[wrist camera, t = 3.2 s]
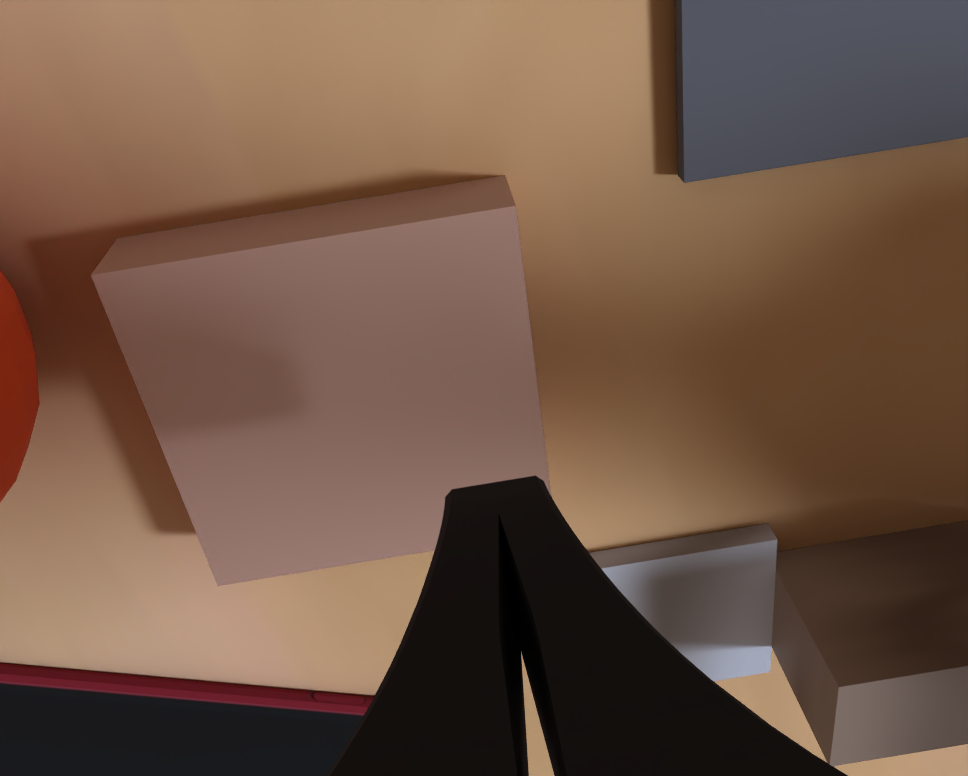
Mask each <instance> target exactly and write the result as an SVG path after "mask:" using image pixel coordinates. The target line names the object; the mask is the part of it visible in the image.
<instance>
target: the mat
mask: <svg viewBox="0 0 968 776" xmlns="http://www.w3.org/2000/svg"><path fill="white" fill-rule="evenodd" d="M675 34H676V89H677V144H678V176H679V177H680V178H681V180H682V181H683V182H684V183H686V182H692V181H698V180H704V179H711V178H717V177H723V176H729V175H735V174H742V173H748V172H754V171H760V170H766V169H772V168H779V167H785V166H791V165H797V164H803V163H810V162H816V161H822V160H828V159H834V158H841V157H847V156H853V155H859V154H865V153H872V152H878V151H884V150H890V149H896V148H902V147H909V146H915V145H921V144H927V143H933V142H940V141H946V140H952V139H958V138H964V137H968V0H675Z"/></svg>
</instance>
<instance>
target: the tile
mask: <svg viewBox="0 0 968 776" xmlns="http://www.w3.org/2000/svg"><path fill="white" fill-rule="evenodd" d="M91 278H92V280H93V282H94V285H95V287H96V290H97V292H98V295H99V297H100V299H101V302H102V304H103V307H104V309H105V312H106V314H107V317H108V319H109V321H110V324H111V326H112V329H113V331H114V334H115V336H116V339H117V341H118V343H119V346H120V348H121V351H122V353H123V356H124V358H125V360H126V363H127V365H128V368H129V370H130V373H131V375H132V378H133V380H134V382H135V385H136V387H137V390H138V392H139V395H140V397H141V400H142V402H143V404H144V407H145V409H146V412H147V414H148V417H149V419H150V421H151V424H152V426H153V429H154V431H155V434H156V436H157V439H158V441H159V443H160V446H161V448H162V451H163V453H164V456H165V458H166V461H167V463H168V465H169V468H170V470H171V473H172V475H173V478H174V480H175V483H176V485H177V487H178V490H179V492H180V495H181V497H182V500H183V502H184V504H185V507H186V509H187V512H188V514H189V517H190V519H191V522H192V524H193V526H194V529H195V531H196V534H197V536H198V539H199V541H200V544H201V546H202V548H203V551H204V553H205V556H206V558H207V561H208V563H209V565H210V568H211V570H212V573H213V575H214V578H215V580H216V583H217V585H218V586H221V585H227V584H233V583H239V582H245V581H251V580H257V579H263V578H269V577H275V576H281V575H288V574H294V573H300V572H306V571H312V570H318V569H324V568H330V567H336V566H342V565H348V564H354V563H360V562H366V561H372V560H378V559H384V558H390V557H396V556H402V555H408V554H414V553H420V552H426V551H433V550H435V548H436V544H437V540H438V537H439V533H440V528H441V524H442V519H443V513H444V506H445V496H446V495H447V494H448V493H449V492H450V491H451V490H452V489H456V488H462V487H468V486H475V485H481V484H487V483H493V482H499V481H505V480H511V479H517V478H523V477H529V476H537V477H539V478H540V479H542V480H543V481H544V482H545V485H546V487H547V489H548V491H549V493H550V495H551V490H550V482H549V474H548V465H547V457H546V449H545V441H544V433H543V424H542V416H541V408H540V400H539V392H538V384H537V375H536V367H535V359H534V351H533V343H532V334H531V326H530V318H529V310H528V302H527V294H526V285H525V277H524V269H523V261H522V253H521V244H520V236H519V228H518V220H517V212H516V205H515V202H514V199H513V197H512V194H511V191H510V188H509V185H508V183H507V180H506V177H505V175H504V176H498V177H492V178H485V179H479V180H473V181H467V182H461V183H455V184H449V185H442V186H436V187H430V188H424V189H418V190H412V191H406V192H399V193H393V194H387V195H381V196H375V197H369V198H363V199H356V200H350V201H344V202H338V203H332V204H326V205H319V206H313V207H307V208H301V209H295V210H289V211H283V212H276V213H270V214H264V215H258V216H252V217H246V218H240V219H233V220H227V221H221V222H215V223H209V224H203V225H197V226H190V227H184V228H178V229H172V230H166V231H160V232H154V233H147V234H141V235H135V236H129V237H123V238H117V239H116V241H115V242H114V243H113V245H112V246H111V248H110V249H109V250H108V252H107V253H106V255H105V256H104V257H103V259H102V260H101V262H100V263H99V264H98V266H97V267H96V268H95V270H94V271H93V273H92V274H91Z"/></svg>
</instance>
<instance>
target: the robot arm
mask: <svg viewBox="0 0 968 776" xmlns="http://www.w3.org/2000/svg"><path fill="white" fill-rule="evenodd" d="M518 635H519V636H518ZM521 652H522V656H523V660H524V663H525V667H526V671H527V675H528V678H529V682H530V686H531V690H532V693H533V697H534V701H535V704H536V708H537V712H538V716H539V719H540V723H541V727H542V730H543V734H544V738H545V742H546V745H547V749H548V753H549V756H550V760H551V764H552V768H553V771H554V775H555V776H847V775H846V774H844V773H842V772H841V771H839V770H837V769H836V768H834V767H833V766H831V765H830V764H828V763H826V762H825V761H823V760H822V759H820V758H818V757H817V756H815V755H814V754H812V753H811V752H809V751H808V750H806V749H805V748H803V747H802V746H800V745H799V744H797V743H796V742H794V741H793V740H791V739H790V738H789V737H787V736H786V735H784V734H783V733H781V732H780V731H778V730H777V729H775V728H774V727H772V726H771V725H770V724H768V723H767V722H766V721H764V720H763V719H762V718H760V717H759V716H758V715H757V714H755V713H754V712H753V711H751V710H750V709H749V708H747V707H746V706H745V705H743V704H742V703H741V702H740V701H738V700H737V699H736V698H734V697H733V696H732V695H730V694H729V693H728V692H727V691H725V690H724V689H723V688H721V687H720V686H719V685H717V684H716V683H715V682H714V681H712V680H711V679H710V678H709V677H708V676H707V675H705V674H704V673H703V672H702V671H701V670H700V669H698V668H697V667H696V666H695V665H694V664H693V663H692V662H690V661H689V660H688V659H687V658H686V657H685V656H684V655H682V654H681V653H680V652H679V651H678V650H677V649H676V648H675V647H674V646H673V645H672V644H671V643H670V642H669V641H668V640H666V639H665V638H664V637H663V636H662V635H661V634H660V633H659V632H658V631H657V630H656V629H655V628H654V627H653V626H652V625H651V624H650V623H649V622H648V621H647V620H646V619H645V618H644V617H643V616H642V615H641V613H640V612H639V611H638V610H637V609H636V608H635V607H634V606H633V605H632V604H631V603H630V601H629V600H628V599H627V598H626V597H625V596H624V595H623V594H622V593H621V592H620V590H619V589H618V588H617V587H616V586H615V585H614V583H613V582H612V581H611V580H610V579H609V578H608V576H607V575H606V574H605V573H604V571H603V570H602V569H601V568H600V566H599V565H598V564H597V563H596V561H595V560H594V559H593V557H592V556H591V555H590V554H589V552H588V551H587V550H586V549H585V547H584V546H583V545H582V543H581V542H580V540H579V539H578V538H577V536H576V535H575V534H574V532H573V531H572V529H571V528H570V526H569V525H568V523H567V522H566V520H565V519H564V517H563V516H562V514H561V512H560V511H559V509H558V508H557V506H556V504H555V502H554V501H553V499H552V497H551V495H550V493H549V491H548V489H547V487H546V485H545V482H544V481H543V480H542V479H540V478H539V477H537V476H529V477H523V478H517V479H511V480H505V481H499V482H493V483H487V484H481V485H475V486H468V487H462V488H456V489H452V490H451V491H450V492H449V493H448V494H447V495H446V496H445V506H444V513H443V519H442V524H441V528H440V533H439V537H438V540H437V544H436V548H435V551H434V555H433V558H432V561H431V565H430V568H429V571H428V574H427V577H426V580H425V583H424V586H423V589H422V592H421V594H420V597H419V600H418V603H417V605H416V608H415V610H414V612H413V615H412V617H411V620H410V622H409V624H408V627H407V629H406V632H405V634H404V636H403V639H402V641H401V644H400V646H399V648H398V650H397V652H396V655H395V657H394V659H393V661H392V663H391V665H390V667H389V669H388V671H387V673H386V675H385V677H384V679H383V681H382V683H381V685H380V687H379V689H378V691H377V693H376V694H375V696H374V698H373V700H372V702H371V704H370V706H369V707H368V709H367V711H366V712H365V714H364V716H363V718H362V719H361V721H360V723H359V724H358V726H357V728H356V729H355V731H354V733H353V734H352V736H351V738H350V740H349V741H348V743H347V745H346V746H345V748H344V749H343V751H342V752H341V754H340V756H339V757H338V759H337V760H336V762H335V763H334V765H333V766H332V768H331V769H330V771H329V772H328V774H327V775H326V776H529V773H528V757H527V741H526V724H525V708H524V692H523V677H522V661H521Z"/></svg>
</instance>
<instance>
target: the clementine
mask: <svg viewBox="0 0 968 776" xmlns="http://www.w3.org/2000/svg"><path fill="white" fill-rule="evenodd" d="M38 407H39V392H38V381H37V369H36V358H35V352H34V346H33V340H32V334H31V331H30V328H29V326H28V323H27V321H26V318H25V316H24V313H23V311H22V308H21V306H20V303H19V301H18V298H17V296H16V293H15V291H14V289H13V287H12V286H11V285H10V283H9V282H8V280H7V279H6V278H5V276H4V275H3V273H2V272H1V271H0V502H1V501H2V499H3V498H4V496H5V495H6V494H7V492H8V491H9V489H10V488H11V487H12V485H13V484H14V482H15V481H16V479H17V476H18V473H19V471H20V468H21V465H22V462H23V459H24V457H25V454H26V451H27V448H28V445H29V442H30V438H31V434H32V430H33V426H34V423H35V419H36V415H37V411H38Z"/></svg>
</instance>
